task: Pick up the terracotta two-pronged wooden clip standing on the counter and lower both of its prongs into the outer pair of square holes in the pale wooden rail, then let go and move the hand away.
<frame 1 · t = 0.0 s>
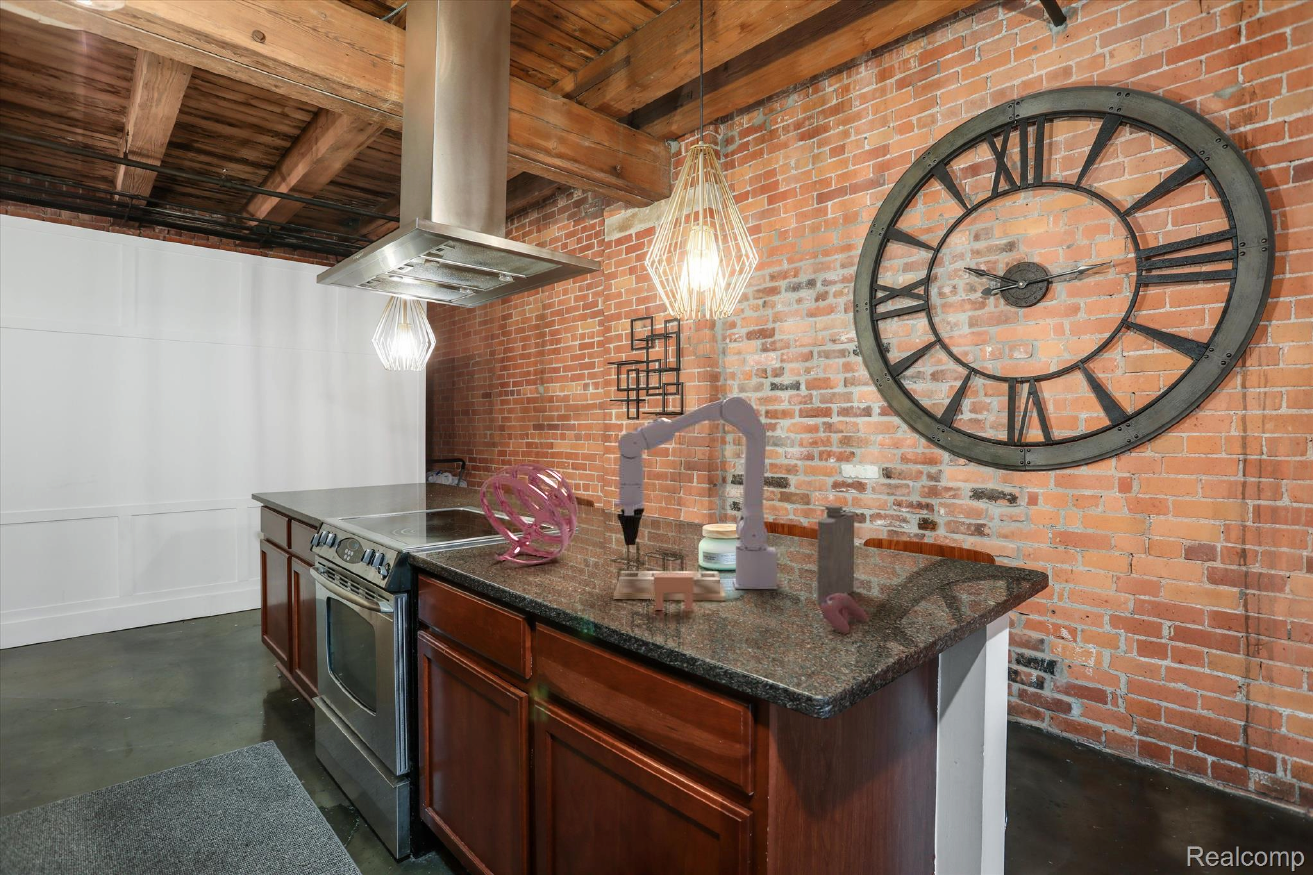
hand: (631, 541, 149), 10 cm above the table, tool pointing down, fingers open, 7 cm apart
video game controller: (843, 626, 120), on the table
spiral basket: (532, 560, 175), on the table
hip flask: (834, 597, 139), on the table
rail: (669, 592, 142), on the table
clip: (673, 609, 130), on the table
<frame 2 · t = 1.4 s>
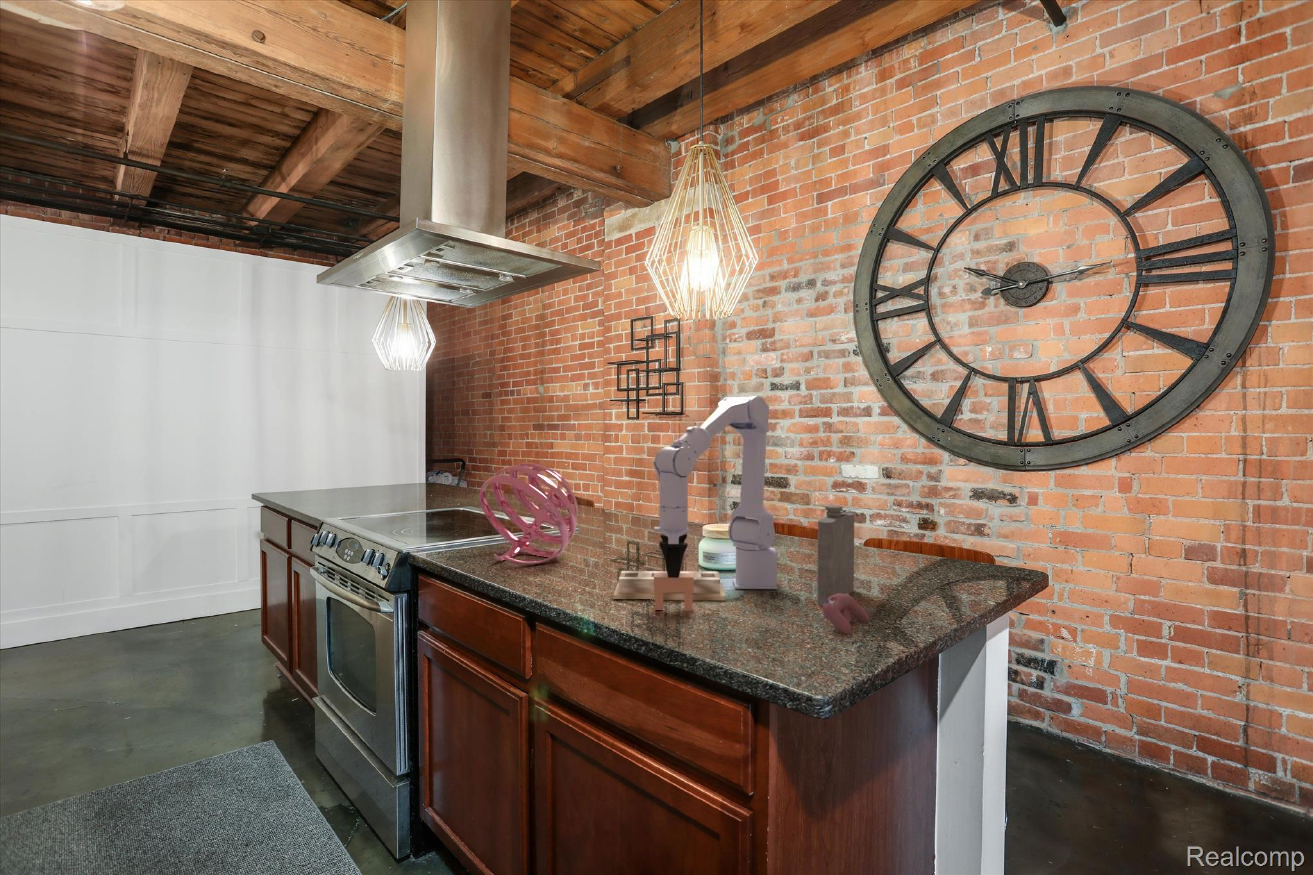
hand: (673, 572, 130), 8 cm above the table, tool pointing down, fingers open, 7 cm apart
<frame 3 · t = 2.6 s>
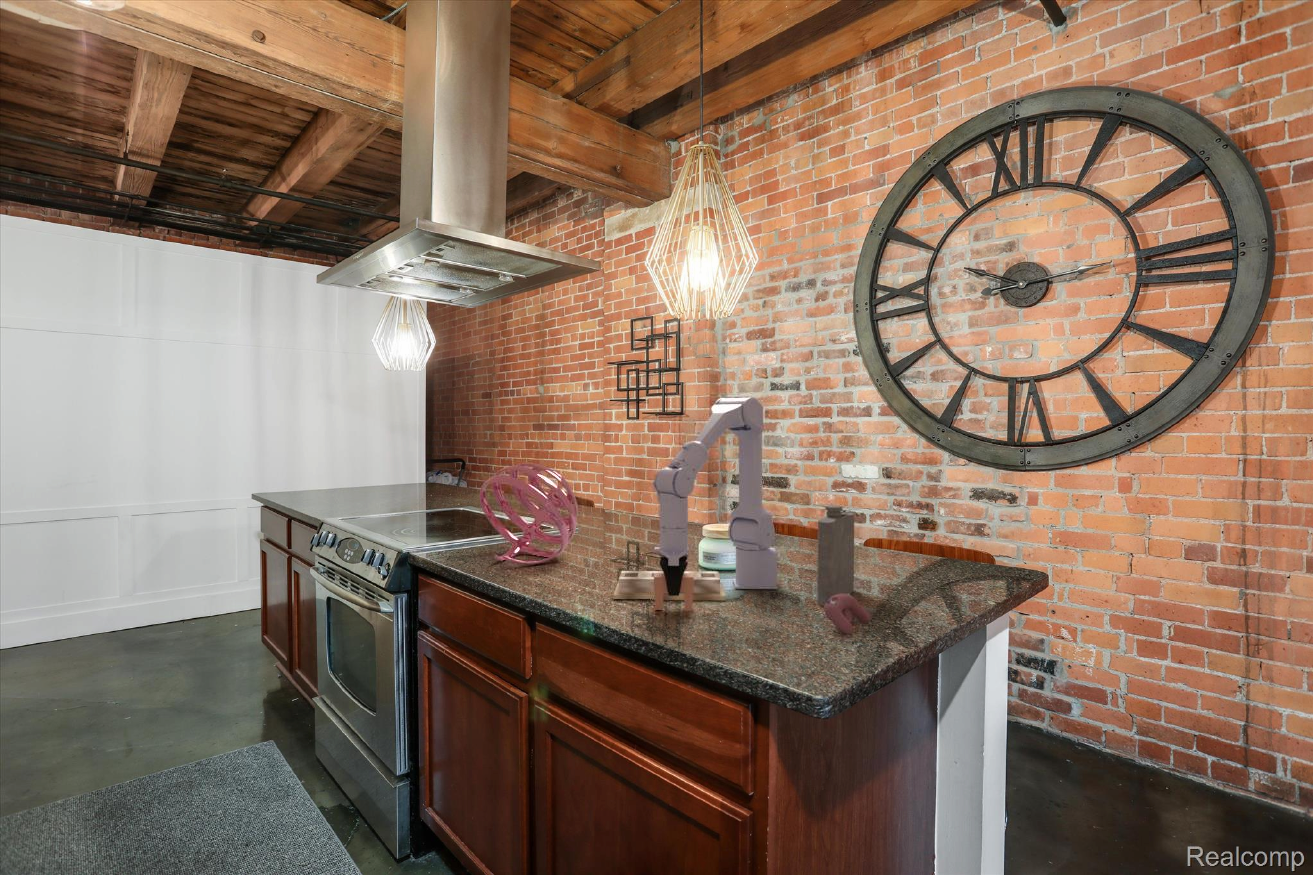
hand: (673, 592, 130), 3 cm above the table, tool pointing down, fingers closed on clip, 3 cm apart
clip: (673, 609, 130), on the table, touching gripper
everything else where it was.
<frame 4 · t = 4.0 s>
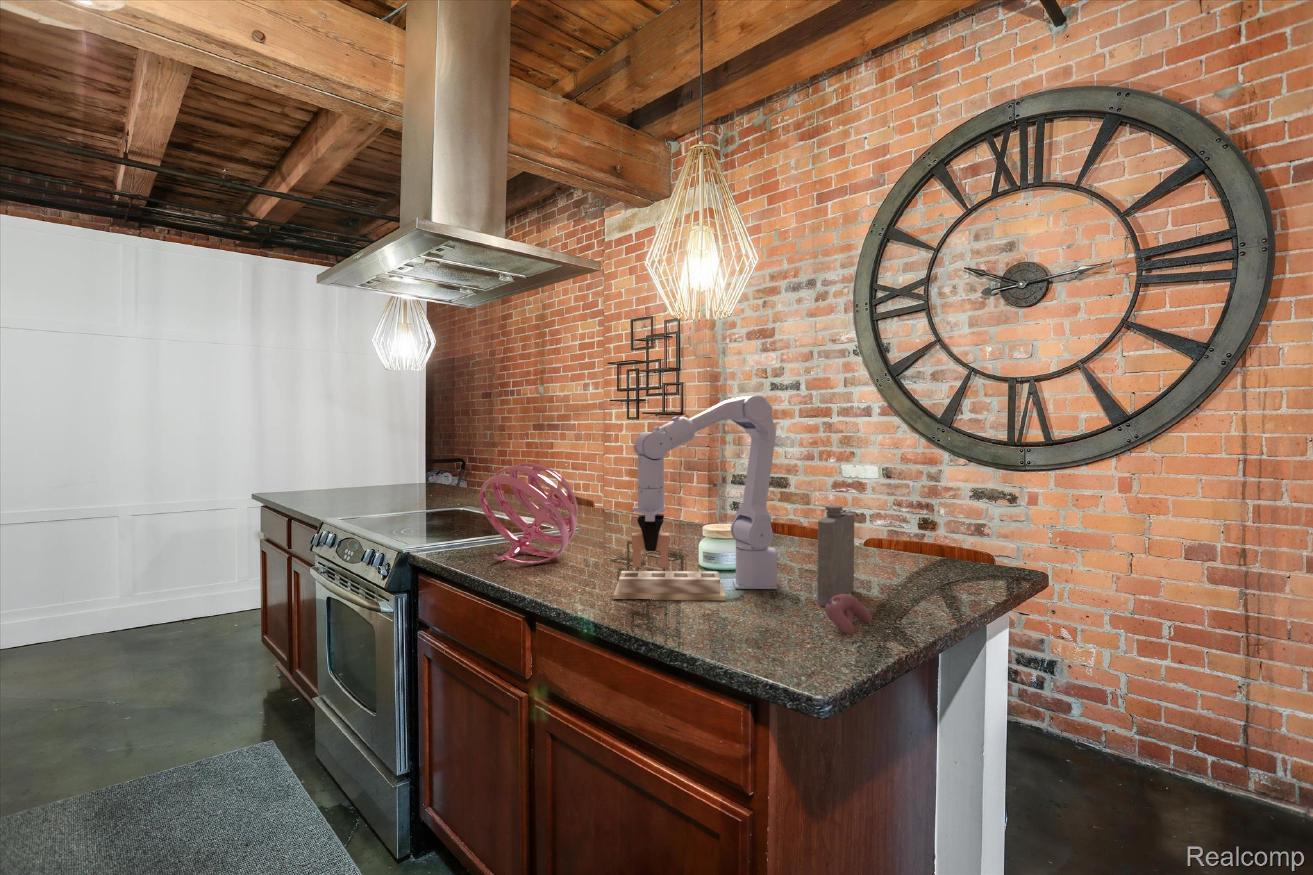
hand: (651, 549, 139), 10 cm above the table, tool pointing down, fingers closed on clip, 3 cm apart
clip: (650, 565, 139), point 7 cm above the table, touching gripper
everything else where it was.
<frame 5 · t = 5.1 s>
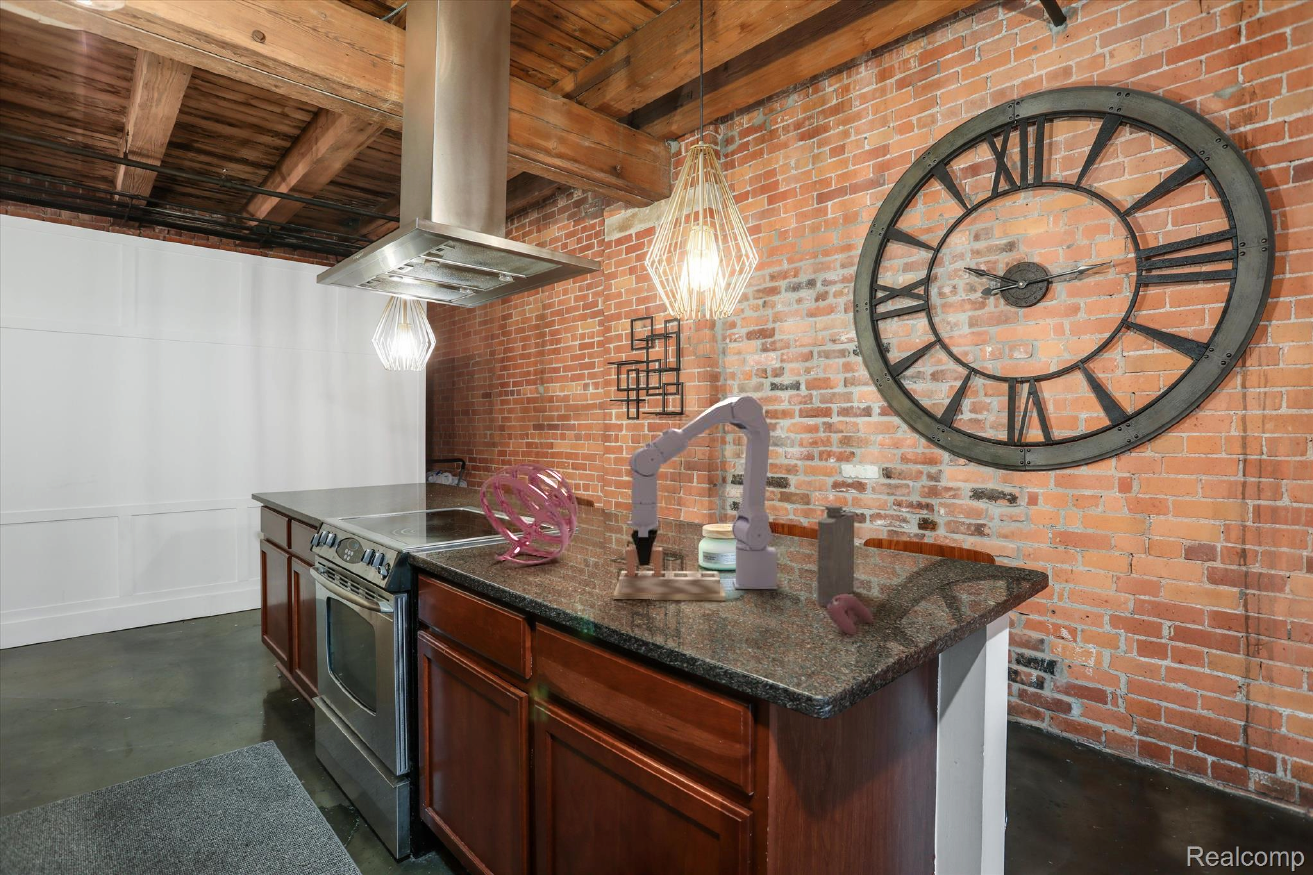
hand: (644, 563, 142), 7 cm above the table, tool pointing down, fingers closed on clip, 3 cm apart
clip: (644, 579, 142), point 3 cm above the table, touching gripper
when the fingers open (5 cm above the table, at t = 5.7 s): clip stays where it is, resting on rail.
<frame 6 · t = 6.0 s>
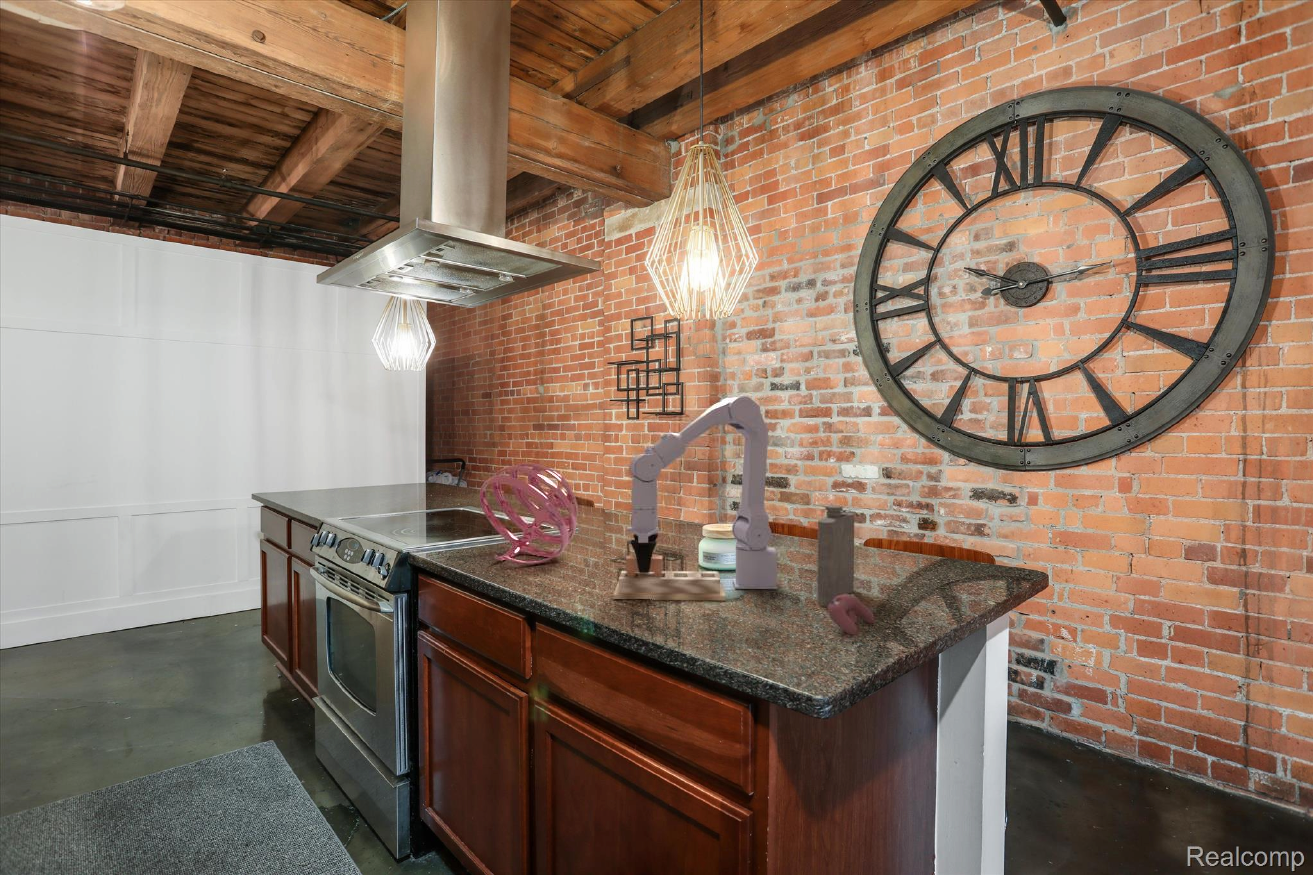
hand: (644, 568, 142), 5 cm above the table, tool pointing down, fingers open, 6 cm apart
clip: (644, 588, 142), point 1 cm above the table, touching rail
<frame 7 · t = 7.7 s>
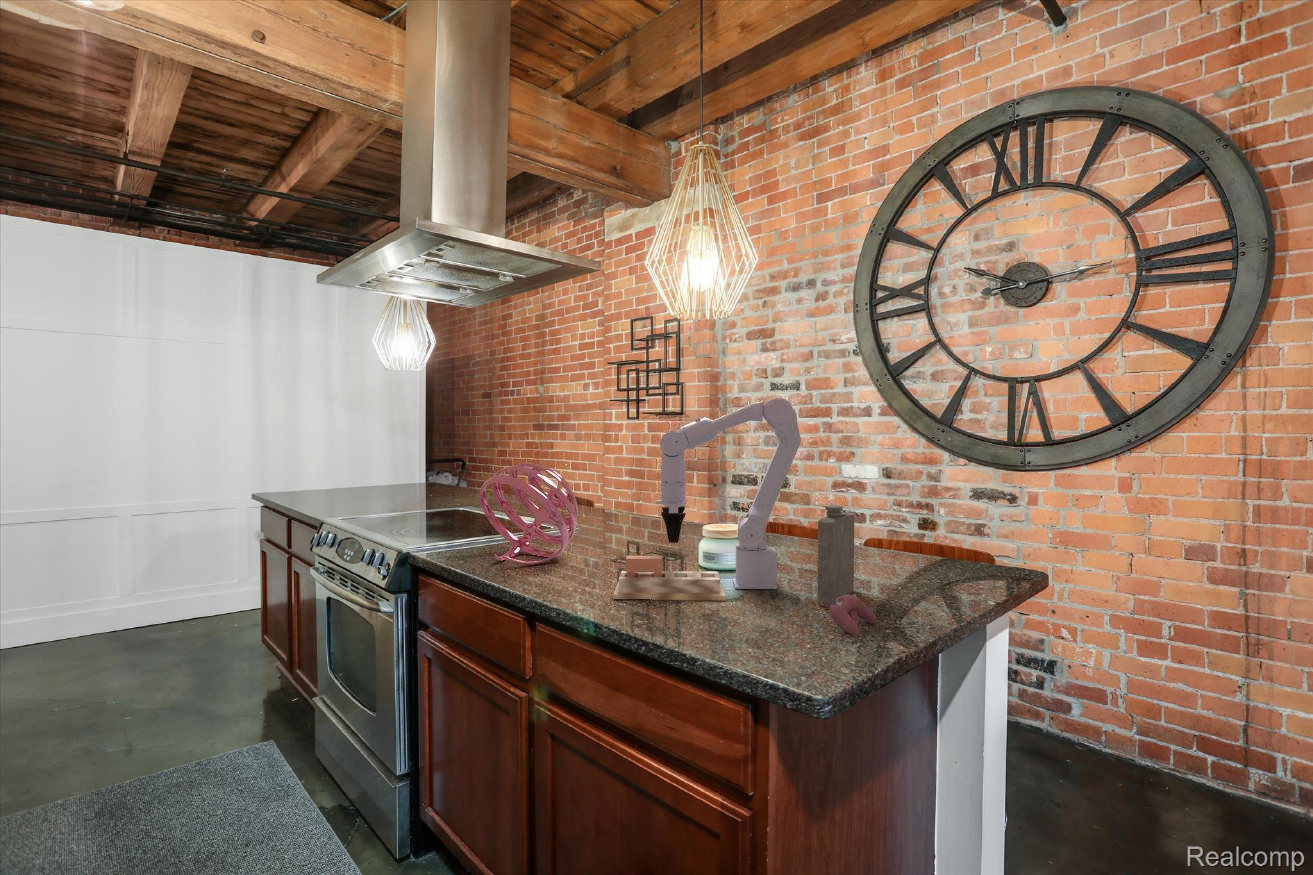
hand: (673, 539, 151), 10 cm above the table, tool pointing down, fingers open, 7 cm apart
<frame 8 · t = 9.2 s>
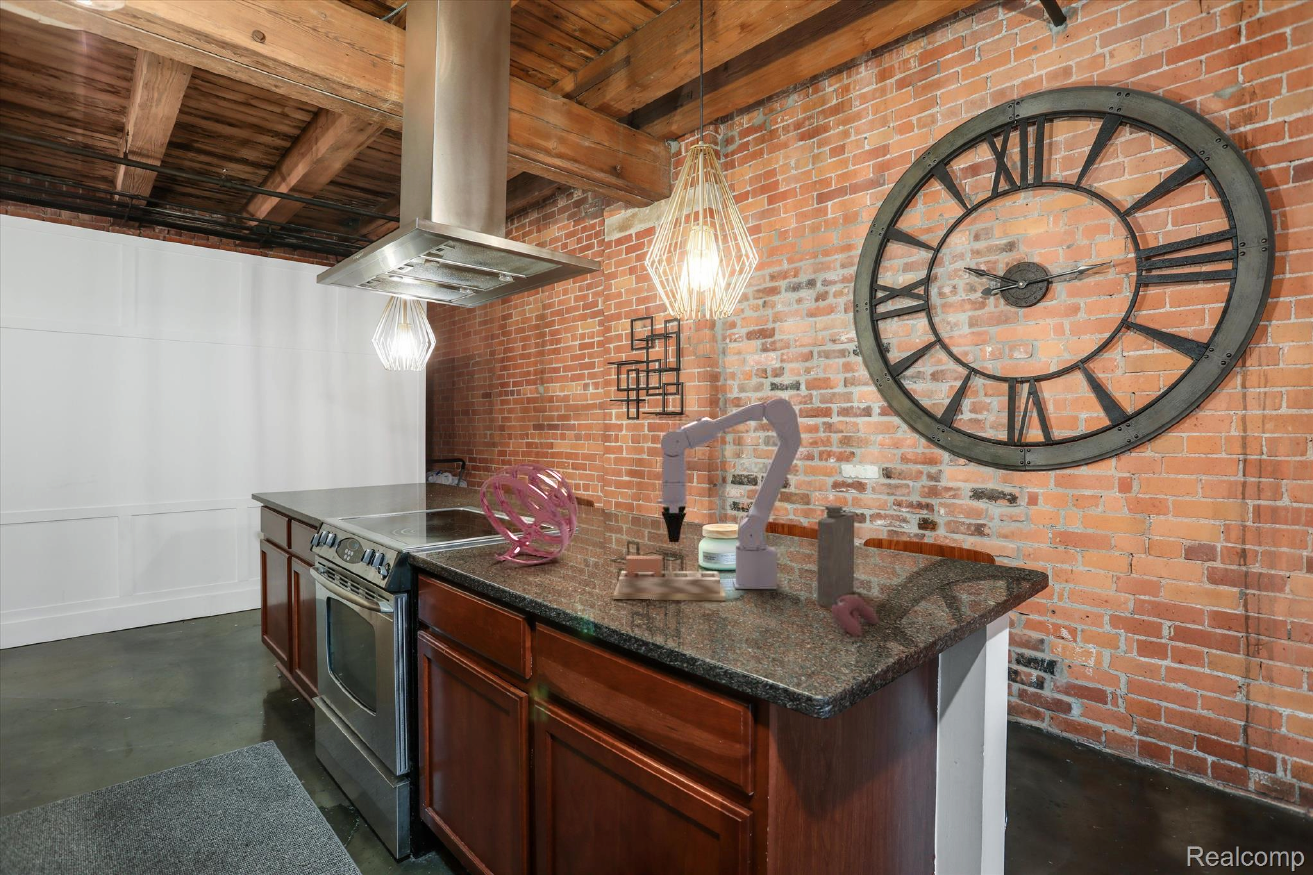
hand: (674, 538, 151), 10 cm above the table, tool pointing down, fingers open, 7 cm apart
at the end: clip 0.1 cm from the target spot on the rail, point 1.0 cm above the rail's base; clip tilted 0°; the gripper is holding nothing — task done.
